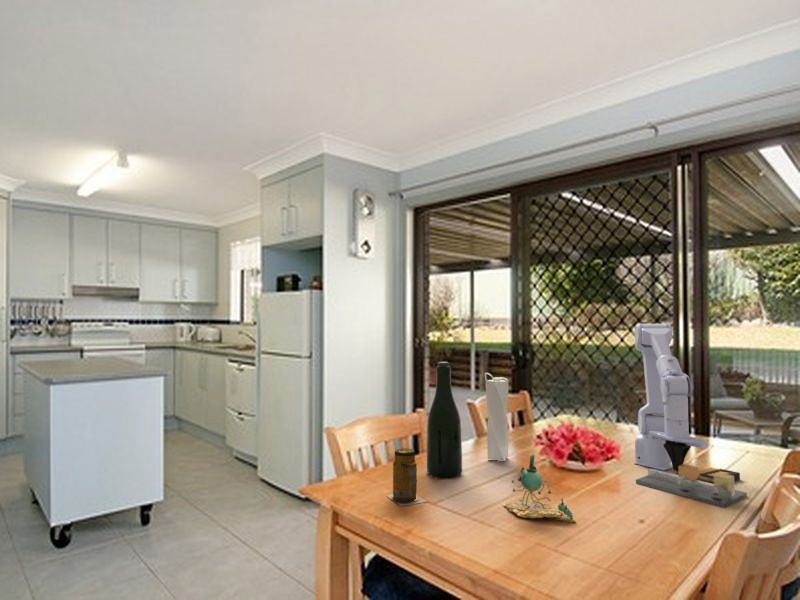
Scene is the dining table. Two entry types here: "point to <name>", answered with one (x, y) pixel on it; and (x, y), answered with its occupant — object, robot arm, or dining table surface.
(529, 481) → the green creature figurine
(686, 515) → the dining table surface
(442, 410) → the dark green wine bottle
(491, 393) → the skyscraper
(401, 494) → the condiment
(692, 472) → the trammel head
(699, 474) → the ammunition clip
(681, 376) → the robot arm
